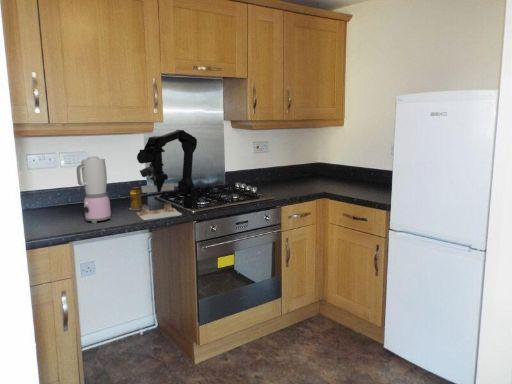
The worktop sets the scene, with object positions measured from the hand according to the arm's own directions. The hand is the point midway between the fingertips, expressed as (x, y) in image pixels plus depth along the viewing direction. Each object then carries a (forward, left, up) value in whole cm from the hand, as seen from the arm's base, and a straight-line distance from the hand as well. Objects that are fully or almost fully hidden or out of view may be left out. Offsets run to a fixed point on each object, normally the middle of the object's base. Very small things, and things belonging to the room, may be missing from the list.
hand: (158, 191), depth 221 cm
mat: (0, +1, -13) cm, 13 cm away
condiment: (+6, -24, -13) cm, 28 cm away
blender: (+31, -6, -13) cm, 34 cm away
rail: (0, 0, 0) cm, 0 cm away
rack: (0, -6, -13) cm, 14 cm away
